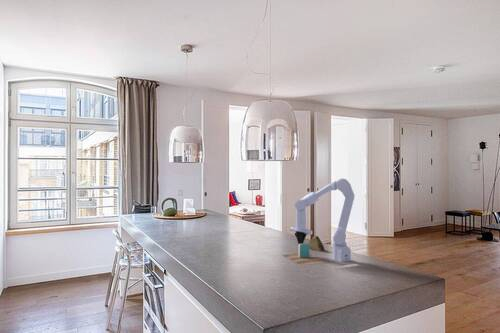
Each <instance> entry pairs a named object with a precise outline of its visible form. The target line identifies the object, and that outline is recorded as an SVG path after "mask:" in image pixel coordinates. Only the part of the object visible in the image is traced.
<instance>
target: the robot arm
mask: <svg viewBox="0 0 500 333" xmlns="http://www.w3.org/2000/svg"><path fill="white" fill-rule="evenodd" d="M337 190H338V191H340V192H341V193H342V195H343V196H344V201H343V205H342V210H341V214H340V218H339V220H338V225H337V230H336V231H335V232H334V234H333V237H332V240H333V242H332V260H336V261H337V262H342V263H343V262H351V259H352V258H351V256H352V254H351V252H352V251H351V249H350V247H349V246H348V244H347V242H346V237H347V235H346V232H347V226H348V223H349V219H350V216H351V211H352V208H353V204H354V201H355V193H354V190H353V188H352V185H351V183H350V182H349V181H348V180H347V179H346V178H343V177H342V178H339V179H338V180H335V181H333V182H330V183H329V184H327V185H325V186H324V187H322V188H321V189H319V190H318V191H316V192H314V191H309V192H308V193H307V195H305V196H302V197H301V198H300V199H298V200H297V201H296V202H295V204H294V207H295V227H293V226H291V227H289V231H290V232H295V233H294V236H295V238H296V241H297V243H298V244H297V245H299V244H304V243H305V240H306V237H307V235H313V230H310V229H307V210H306V208H308V207H310V206H311V205H314V204H315V203H317V202H318V201H319V199H320V197H323V195H325V194H327V193H329V192H331V191H337Z"/></svg>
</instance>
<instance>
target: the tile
mask: <svg viewBox="0 0 500 333" xmlns="http://www.w3.org/2000/svg"><path fill="white" fill-rule="evenodd" d="M310 250H311V249H310V244H309V242H306V243H305V242H303V244H298V253H299V254H298V257H300V258H301V257H309V254H310Z"/></svg>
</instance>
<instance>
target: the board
mask: <svg viewBox="0 0 500 333" xmlns="http://www.w3.org/2000/svg"><path fill="white" fill-rule="evenodd" d="M298 254H299V252H296V253H287V254H286V253H285V254H281V256H282V257H284V258H286V259H288V260H290V261H292V262H294V263H295V264H298V265H300V266H309V265H318V264H326V263H327V264H328V263H329V261H327V260H324V259H322V258H319V257H317V256H315V255H313V254H310V253H309V257H301V258H300V257H298Z"/></svg>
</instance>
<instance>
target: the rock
mask: <svg viewBox="0 0 500 333" xmlns="http://www.w3.org/2000/svg"><path fill="white" fill-rule="evenodd" d="M308 243H309V244H310V250H315V251H319V252H320V251H325V250H326V249H325V247H324V246H325V245H324V244H323V242H322V240H321V239H320V237H319V236H318V235H314V236H313V237H312V238H311V239H310V240H309V241H308Z"/></svg>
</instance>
